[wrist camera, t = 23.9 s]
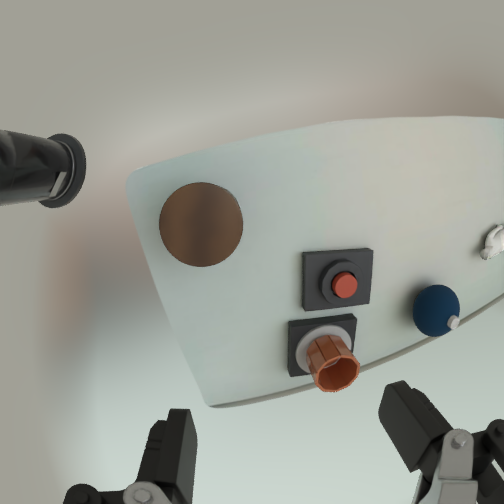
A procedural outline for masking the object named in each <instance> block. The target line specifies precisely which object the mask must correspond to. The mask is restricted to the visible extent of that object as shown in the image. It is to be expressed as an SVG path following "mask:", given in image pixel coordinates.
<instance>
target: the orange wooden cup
mask: <svg viewBox="0 0 504 504" xmlns="http://www.w3.org/2000/svg"><path fill="white" fill-rule="evenodd" d="M340 357H341V358H340ZM339 358H340V359H339ZM338 359H339V360H338ZM337 360H338V361H337ZM336 361H337V362H336ZM335 362H336V363H335ZM306 363H307V365H308V368H309V370H310V372H311V375H312V377H313V380H314V382H315V384H316V385H317V386H318V387H319V388H320V389H321V390H322V391H325V392H335V391H336V392H337V391H339V390H342V389H344V388H346V387H348V386H350V384H351V383H352V382H353V381H354V380H355V379H356V378H357V376H358V374H359V369H360V363H359V362H358V361H357V359H356V358H355V356H354V355H353V353H352V352H351V351H350V349H349V348H348V346H347V345H346V343H345V342H344V341H343V340H342V338H341V337H339V336H335V335H325V336H323V337H320V338H318V339H316V341H315V340H314V341H313V343H312V344H311V345H310V346H309V348H308V349H307V351H306ZM334 363H335V364H334ZM332 364H333V365H332ZM330 365H331V366H330ZM327 366H329V367H327ZM324 367H326V368H324Z"/></svg>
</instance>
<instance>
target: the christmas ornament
mask: <svg viewBox="0 0 504 504" xmlns="http://www.w3.org/2000/svg"><path fill="white" fill-rule="evenodd" d="M459 312H460V305H459V301H458V298H457V296H456V294H455V293H454V292H453V291H452V290H451V289H450V288H448V287H447V286H444V285H432V286H429V287H427V288H425V289H424V290H423V291H422V292H421V293H420V294H419V295H418V297H417V298H416V300H415V303H414V306H413V319H414V322H415V325H416V326H417V328H418V329H419V330H420V331H421V332H422V333H424V334H425V335H428V336H432V337H437V336H442V335H444V334H446V333H448V332H449V331H450V330H451V329H455V328H456V327H457V326H458V324H459V318H458V317H459Z"/></svg>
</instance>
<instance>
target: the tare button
mask: <svg viewBox="0 0 504 504" xmlns="http://www.w3.org/2000/svg"><path fill="white" fill-rule="evenodd" d="M332 288H333V291H334V292H335V293H336V294H337V295H338V296H339V297H341V298H348V297H350V296H352V295H353V294H354V293H355V291H356V289H357V281H356V279H355V277H353V276H352V275H351V274H349V273H347V272H342V273H339V274H338V275H337V276H336V277H335V278H334V279H333V282H332Z"/></svg>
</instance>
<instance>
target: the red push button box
mask: <svg viewBox="0 0 504 504" xmlns="http://www.w3.org/2000/svg"><path fill="white" fill-rule="evenodd" d="M372 265H373V250H371V249H369V248H364V249H348V250H332V251H317V252H303V290H302V307H303V309H304V311H314V310H323V309H332V308H340V307H348V306H355V305H363V304H369V301H370V291H371V279H372ZM342 272H347V273H349V274H351V275H352V276H353V277H355V279H356V281H357V289H356V291H355V293H354V294H353V295H352V296H350V297H348V298H341V297H339V296H338V295H337V294H336V293H335V292H334V291H333V288H332V282H333V279H334V278H335V277H336V276H337V275H338V274H339V273H342Z"/></svg>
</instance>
